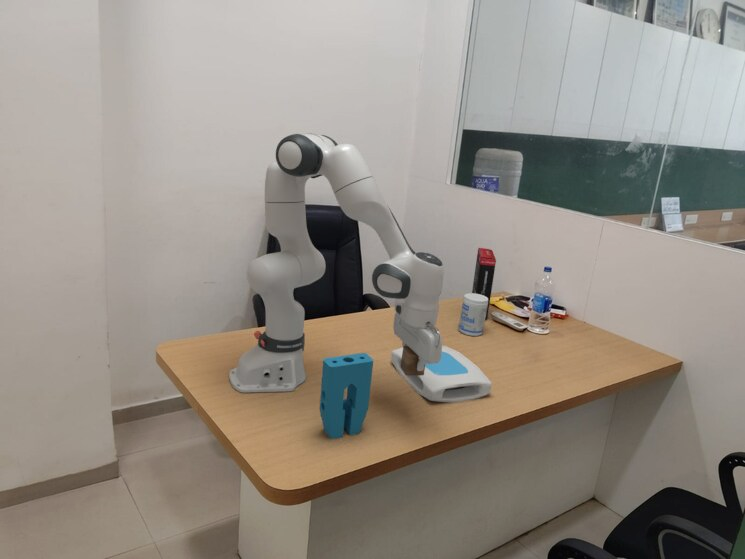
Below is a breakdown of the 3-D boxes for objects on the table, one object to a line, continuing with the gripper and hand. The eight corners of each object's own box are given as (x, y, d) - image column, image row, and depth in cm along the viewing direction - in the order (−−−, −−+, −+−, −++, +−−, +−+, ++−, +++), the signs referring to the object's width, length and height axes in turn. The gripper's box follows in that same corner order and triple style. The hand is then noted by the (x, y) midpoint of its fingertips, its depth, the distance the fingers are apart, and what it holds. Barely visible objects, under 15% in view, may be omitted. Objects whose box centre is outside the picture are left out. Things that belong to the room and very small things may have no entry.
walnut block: (405, 375, 143) (408, 354, 141) (400, 366, 147) (403, 346, 145) (423, 375, 144) (426, 354, 142) (418, 366, 148) (421, 346, 147)
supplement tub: (454, 332, 212) (460, 296, 208) (462, 325, 220) (467, 291, 216) (478, 339, 208) (484, 302, 204) (485, 331, 216) (491, 296, 212)
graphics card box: (487, 321, 228) (498, 258, 220) (471, 319, 228) (480, 256, 220) (483, 307, 244) (493, 249, 236) (468, 305, 245) (477, 247, 237)
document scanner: (444, 358, 189) (446, 341, 187) (490, 397, 164) (494, 379, 162) (389, 363, 180) (391, 346, 178) (430, 406, 156) (432, 386, 154)
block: (358, 421, 144) (365, 352, 138) (367, 431, 140) (374, 360, 134) (316, 430, 138) (322, 358, 132) (324, 440, 134) (330, 367, 128)
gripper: (451, 330, 133) (443, 381, 137) (412, 301, 151) (406, 346, 155) (429, 332, 130) (421, 383, 135) (392, 302, 148) (386, 348, 152)
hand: (412, 363), depth 145 cm, fingers closed on walnut block, 5 cm apart
